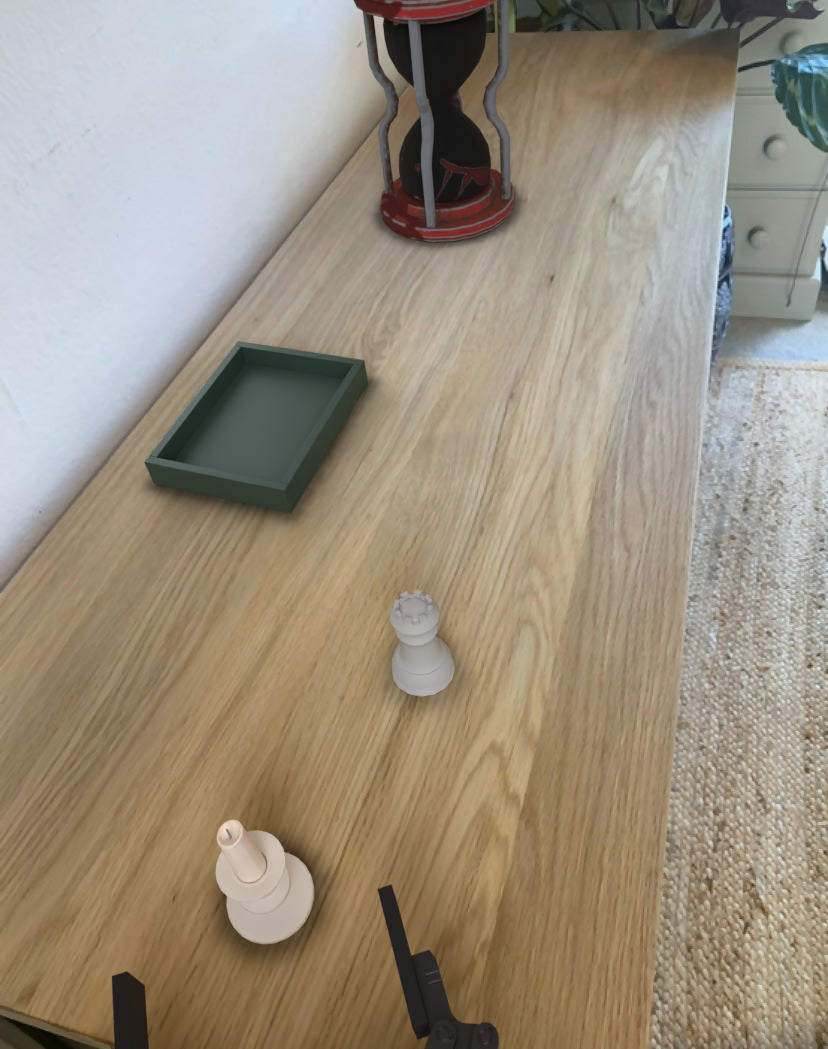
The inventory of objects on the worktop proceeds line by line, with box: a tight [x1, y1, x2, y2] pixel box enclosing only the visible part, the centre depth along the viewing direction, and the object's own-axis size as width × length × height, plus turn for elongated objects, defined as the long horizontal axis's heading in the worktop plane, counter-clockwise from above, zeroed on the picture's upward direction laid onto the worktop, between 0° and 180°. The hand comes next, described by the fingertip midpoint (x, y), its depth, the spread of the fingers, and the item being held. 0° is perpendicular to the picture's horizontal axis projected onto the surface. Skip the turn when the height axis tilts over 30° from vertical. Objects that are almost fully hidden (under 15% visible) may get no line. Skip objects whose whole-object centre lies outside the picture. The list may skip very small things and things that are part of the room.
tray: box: [144, 340, 369, 514], centre depth 78 cm, size 18×14×3 cm
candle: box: [215, 819, 315, 945], centre depth 47 cm, size 5×5×10 cm
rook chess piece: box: [389, 589, 456, 697], centre depth 57 cm, size 4×4×8 cm
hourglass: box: [353, 0, 515, 243], centre depth 94 cm, size 16×16×25 cm
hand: (260, 936), depth 44 cm, fingers open, 13 cm apart
